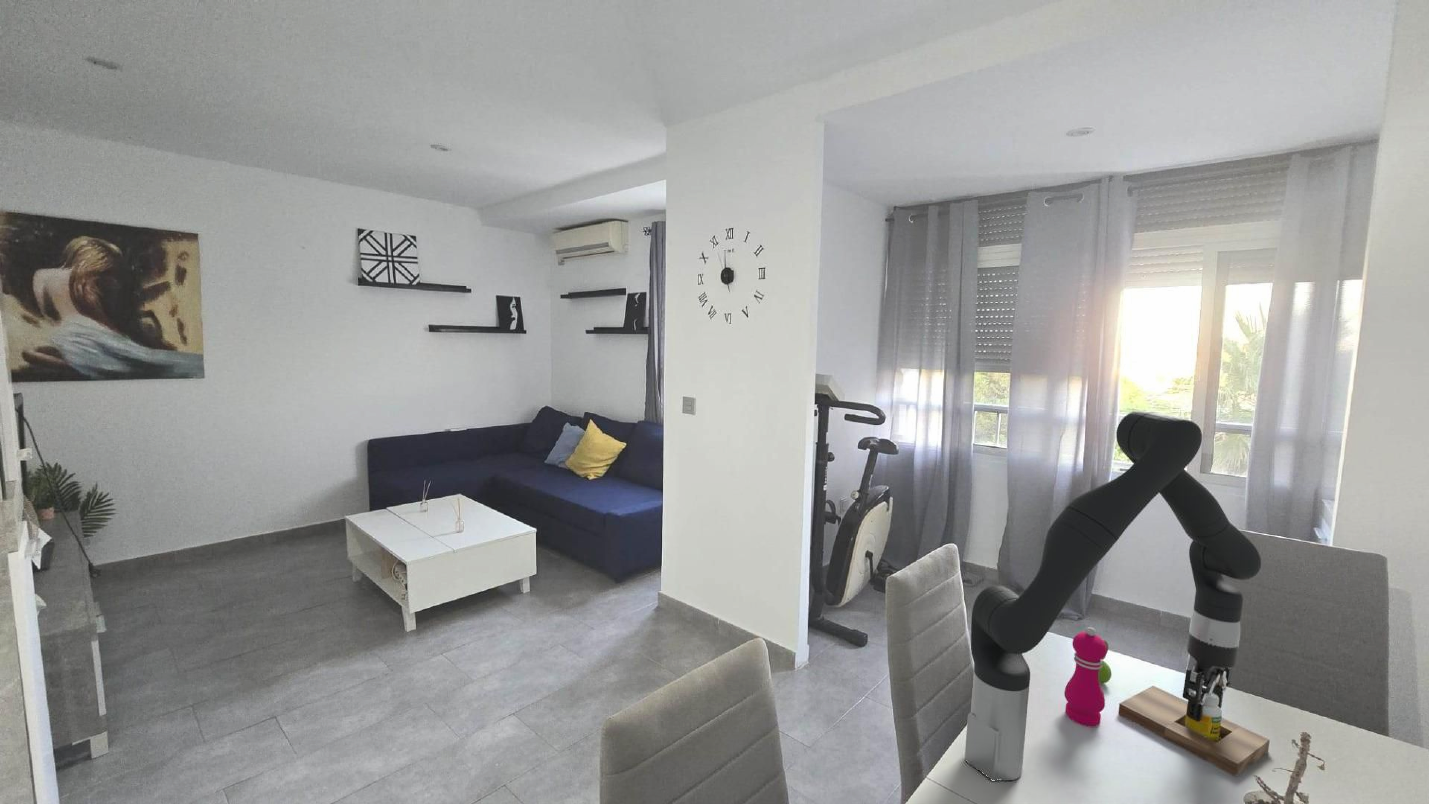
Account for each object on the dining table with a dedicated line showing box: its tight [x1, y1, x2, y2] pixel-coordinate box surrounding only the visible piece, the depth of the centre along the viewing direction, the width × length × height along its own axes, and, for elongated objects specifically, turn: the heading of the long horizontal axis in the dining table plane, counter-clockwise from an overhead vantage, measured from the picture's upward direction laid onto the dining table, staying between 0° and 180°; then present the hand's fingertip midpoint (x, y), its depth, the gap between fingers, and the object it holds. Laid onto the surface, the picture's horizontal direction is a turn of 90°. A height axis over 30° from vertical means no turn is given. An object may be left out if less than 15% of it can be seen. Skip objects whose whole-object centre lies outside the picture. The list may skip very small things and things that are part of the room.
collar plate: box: [1118, 685, 1270, 777], centre depth 119 cm, size 14×20×2 cm
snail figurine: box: [1099, 638, 1112, 685], centre depth 136 cm, size 5×6×12 cm
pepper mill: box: [1064, 626, 1108, 728], centre depth 122 cm, size 7×7×20 cm
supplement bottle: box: [1184, 691, 1223, 743], centre depth 117 cm, size 5×5×10 cm
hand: (1203, 712), depth 117 cm, fingers open, 8 cm apart
